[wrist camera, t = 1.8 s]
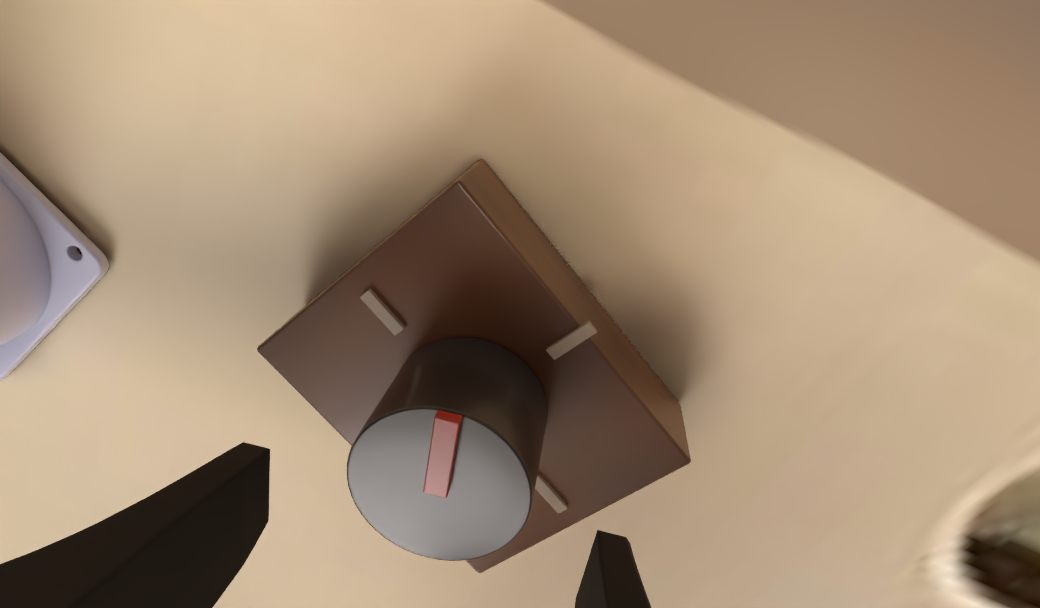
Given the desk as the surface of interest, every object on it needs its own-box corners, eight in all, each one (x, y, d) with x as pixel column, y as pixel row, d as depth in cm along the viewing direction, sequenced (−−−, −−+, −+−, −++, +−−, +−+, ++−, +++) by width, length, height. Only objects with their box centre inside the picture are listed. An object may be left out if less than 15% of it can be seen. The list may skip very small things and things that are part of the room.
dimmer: (296, 313, 21) (245, 357, 18) (490, 150, 18) (466, 172, 15) (488, 514, 23) (470, 582, 20) (689, 400, 20) (702, 461, 17)
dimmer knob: (531, 485, 18) (512, 589, 15) (387, 450, 18) (335, 545, 15) (562, 357, 16) (549, 442, 13) (402, 319, 17) (347, 394, 13)
